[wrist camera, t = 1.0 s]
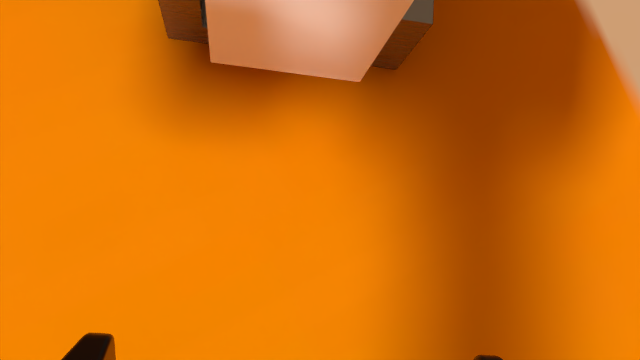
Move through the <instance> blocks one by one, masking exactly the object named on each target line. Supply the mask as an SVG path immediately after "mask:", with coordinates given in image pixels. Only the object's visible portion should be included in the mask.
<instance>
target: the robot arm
mask: <svg viewBox="0 0 640 360" xmlns="http://www.w3.org/2000/svg"><path fill="white" fill-rule="evenodd" d="M62 360H116V357H115V343H114V338H113V335H111V334H105V333H88V334H86V335H84V336H83V337H82V338H81V339H80V340H79V341H78V342H77V343H76V344H75V346H74V347H73V348H72V349H71V350H70V351H69V352H68V353H67V354H66V355H65V356H64V357H63V359H62ZM474 360H503V359H501V358H500V357H498V356H490V355H478V356H476V357H475V358H474Z"/></svg>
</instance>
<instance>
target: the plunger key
mask: <svg viewBox="0 0 640 360" xmlns="http://www.w3.org/2000/svg"><path fill="white" fill-rule="evenodd" d="M413 1H414V0H205V6H206V17H207V28H208V38H209V49H210V60H211V62H212V63H220V64H227V65H235V66H242V67H250V68H257V69H265V70H273V71H280V72H288V73H295V74H303V75H310V76H318V77H325V78H333V79H340V80H348V81H355V82H360V81H361V79H362V78H363V76H364V75H365V73H366V72H367V70H368V69H369V67H370V66H371V64H372V63H373V61H374V60H375V58H376V57H377V55H378V54H379V52H380V51H381V49H382V48H383V46H384V45H385V43H386V42H387V40H388V39H389V37H390V36H391V34H392V33H393V31H394V30H395V28H396V27H397V25H398V24H399V22H400V21H401V19H402V18H403V16H404V15H405V13H406V12H407V10H408V9H409V7H410V6H411V4H412V3H413Z"/></svg>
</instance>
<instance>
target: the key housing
mask: <svg viewBox="0 0 640 360" xmlns="http://www.w3.org/2000/svg"><path fill="white" fill-rule="evenodd" d="M158 1H159V5H160V9H161V13H162V16H163V20H164V24H165V28H166V32H167V36H168V38H171V39H178V40H186V41H193V42H200V43H208V44H209V38H208V28H207V17H206V6H205V0H158ZM433 5H434V0H414V1H413V3H412V4H411V6H410V7H409V9H408V10H407V12H406V13H405V15H404V16H403V18H402V19H401V21H400V22H399V24H398V25H397V27H396V28H395V30H394V31H393V33H392V34H391V36H390V37H389V39H388V40H387V42H386V43H385V45H384V46H383V48H382V49H381V51H380V52H379V54H378V55H377V57H376V58H375V60H374V61H373V63H372V64H371V66H375V67H382V68H389V69H397V68H398V67H399V66H400V64H401V63H402V62H403V61H404V59H405V58H406V57H407V56H408V54H409V53H410V52H411V51H412V49H413V48H414V47H415V46H416V44H417V43H418V42H419V41H420V39H421V38H422V37H423V36H424V34H425V33H426V32H427V31H428V29H429V28H430V27H431V26H432V24H433Z"/></svg>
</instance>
